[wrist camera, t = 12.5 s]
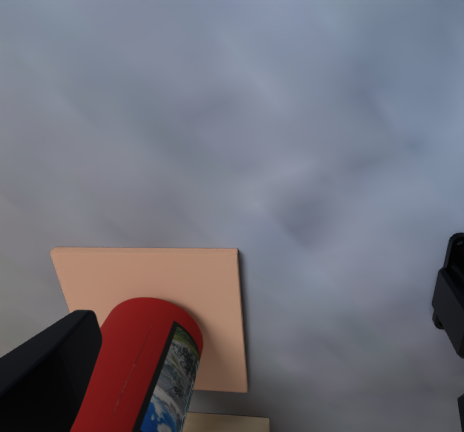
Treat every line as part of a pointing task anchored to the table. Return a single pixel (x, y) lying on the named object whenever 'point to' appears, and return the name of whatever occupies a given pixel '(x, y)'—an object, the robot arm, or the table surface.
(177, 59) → the table surface
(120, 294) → the mat
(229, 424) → the holder
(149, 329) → the beverage can
